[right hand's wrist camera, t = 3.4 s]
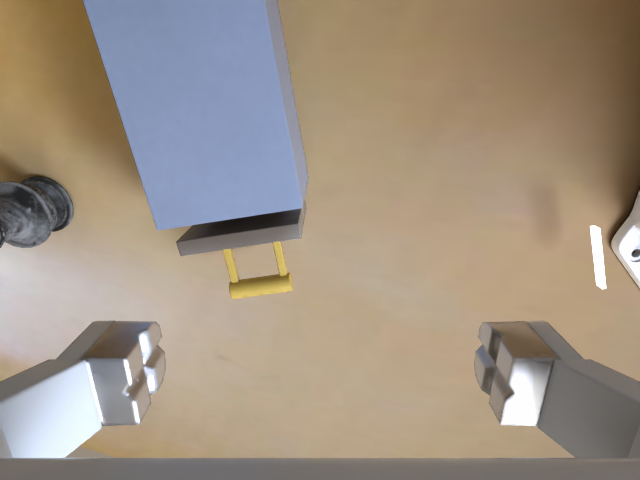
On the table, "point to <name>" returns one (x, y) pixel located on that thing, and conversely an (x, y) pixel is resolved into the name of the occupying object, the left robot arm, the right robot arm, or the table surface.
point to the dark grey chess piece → (32, 211)
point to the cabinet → (204, 105)
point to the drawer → (248, 234)
